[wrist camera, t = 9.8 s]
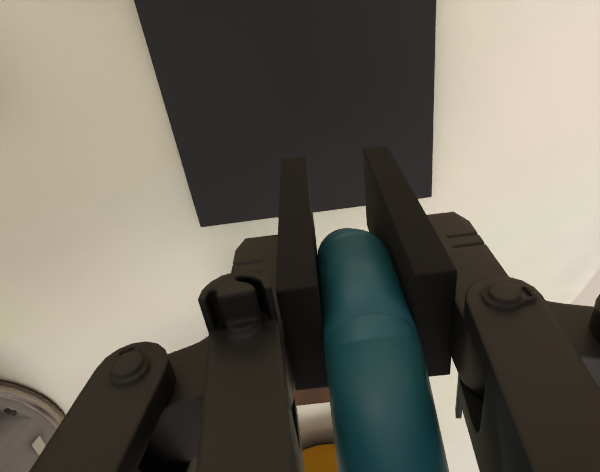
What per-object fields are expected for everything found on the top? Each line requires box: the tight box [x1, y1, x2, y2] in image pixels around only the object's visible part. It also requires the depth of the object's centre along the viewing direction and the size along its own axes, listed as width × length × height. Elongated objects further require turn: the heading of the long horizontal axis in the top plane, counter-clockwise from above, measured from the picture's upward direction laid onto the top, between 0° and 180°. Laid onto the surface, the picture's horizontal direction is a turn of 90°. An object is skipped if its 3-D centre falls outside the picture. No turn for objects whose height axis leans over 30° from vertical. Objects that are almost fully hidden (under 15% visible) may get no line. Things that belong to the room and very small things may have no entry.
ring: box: [317, 228, 449, 472], centre depth 12 cm, size 2×12×12 cm, turn 7°
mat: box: [134, 0, 436, 227], centre depth 33 cm, size 20×18×1 cm
